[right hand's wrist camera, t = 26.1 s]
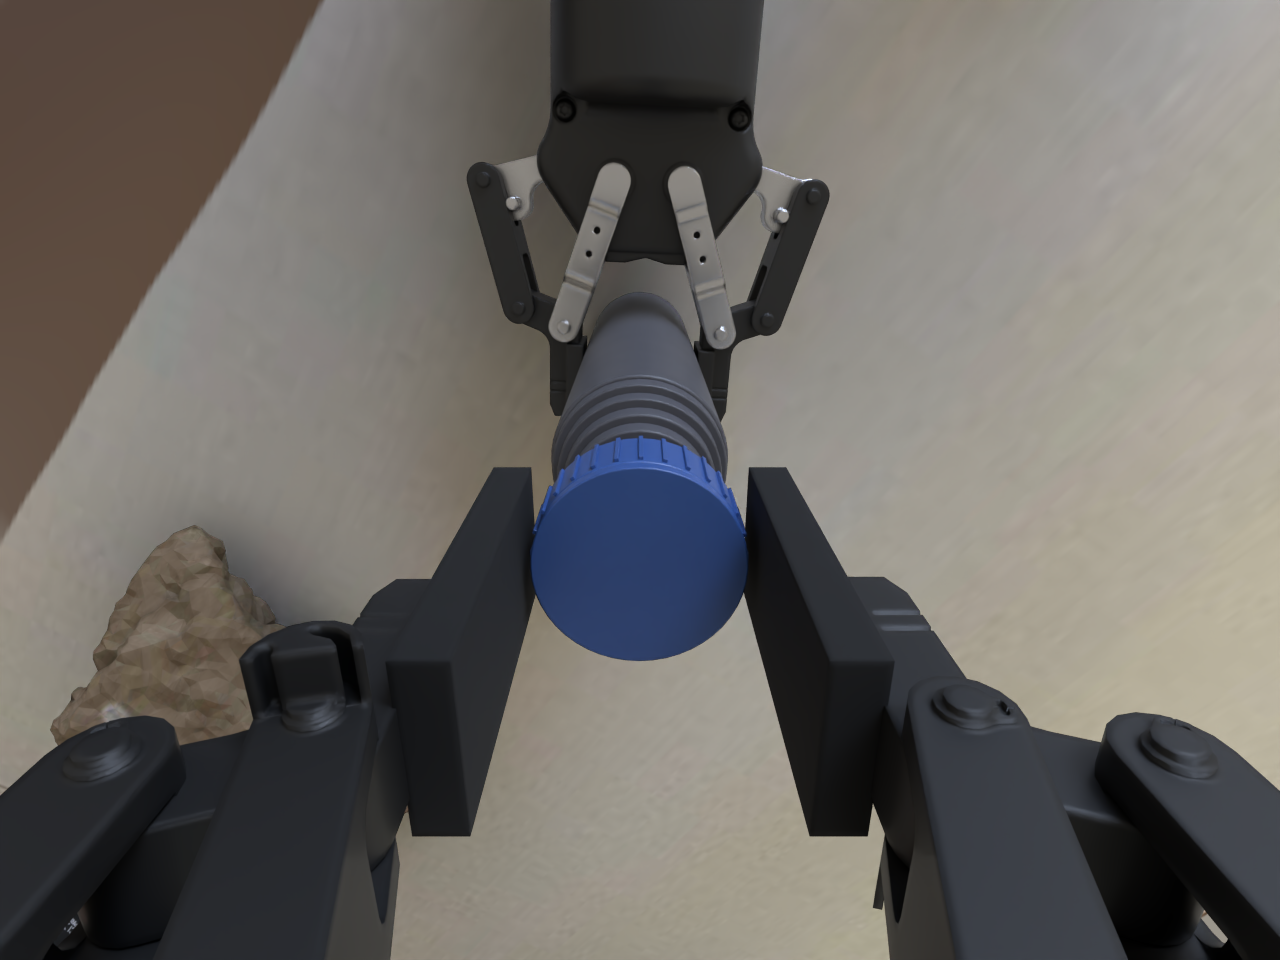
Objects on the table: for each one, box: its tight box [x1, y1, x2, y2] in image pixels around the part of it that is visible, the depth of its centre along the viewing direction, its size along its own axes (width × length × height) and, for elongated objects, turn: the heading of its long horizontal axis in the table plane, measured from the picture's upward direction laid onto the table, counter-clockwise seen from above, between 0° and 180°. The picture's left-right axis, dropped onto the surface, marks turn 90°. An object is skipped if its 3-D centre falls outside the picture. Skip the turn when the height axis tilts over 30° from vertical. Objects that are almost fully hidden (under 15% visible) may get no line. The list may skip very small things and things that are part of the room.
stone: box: [50, 525, 408, 813], centre depth 41 cm, size 21×15×6 cm
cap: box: [530, 436, 749, 661], centre depth 14 cm, size 4×4×2 cm
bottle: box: [551, 292, 728, 483], centre depth 25 cm, size 5×5×24 cm
